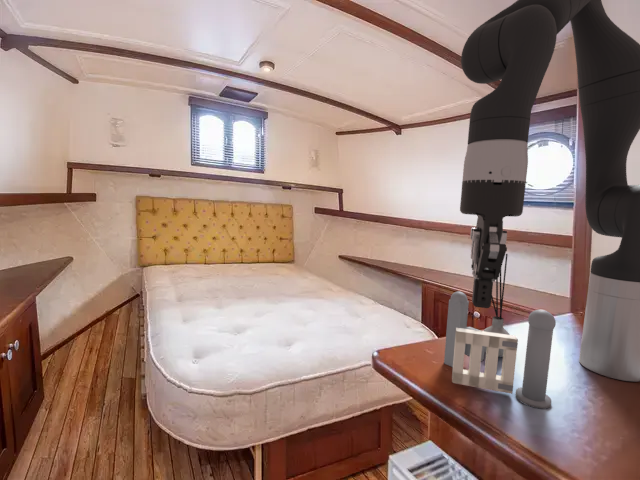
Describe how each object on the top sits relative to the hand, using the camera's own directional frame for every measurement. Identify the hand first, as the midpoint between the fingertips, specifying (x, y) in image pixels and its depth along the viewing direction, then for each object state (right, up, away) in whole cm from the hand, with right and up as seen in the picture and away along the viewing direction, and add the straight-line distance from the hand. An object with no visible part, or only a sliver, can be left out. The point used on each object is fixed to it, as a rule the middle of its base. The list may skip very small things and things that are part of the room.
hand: (480, 306), depth 47 cm
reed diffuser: (+12, -13, +21) cm, 27 cm away
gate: (+3, -14, +7) cm, 16 cm away
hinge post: (+10, -15, +4) cm, 19 cm away
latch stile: (+3, -14, +14) cm, 20 cm away
